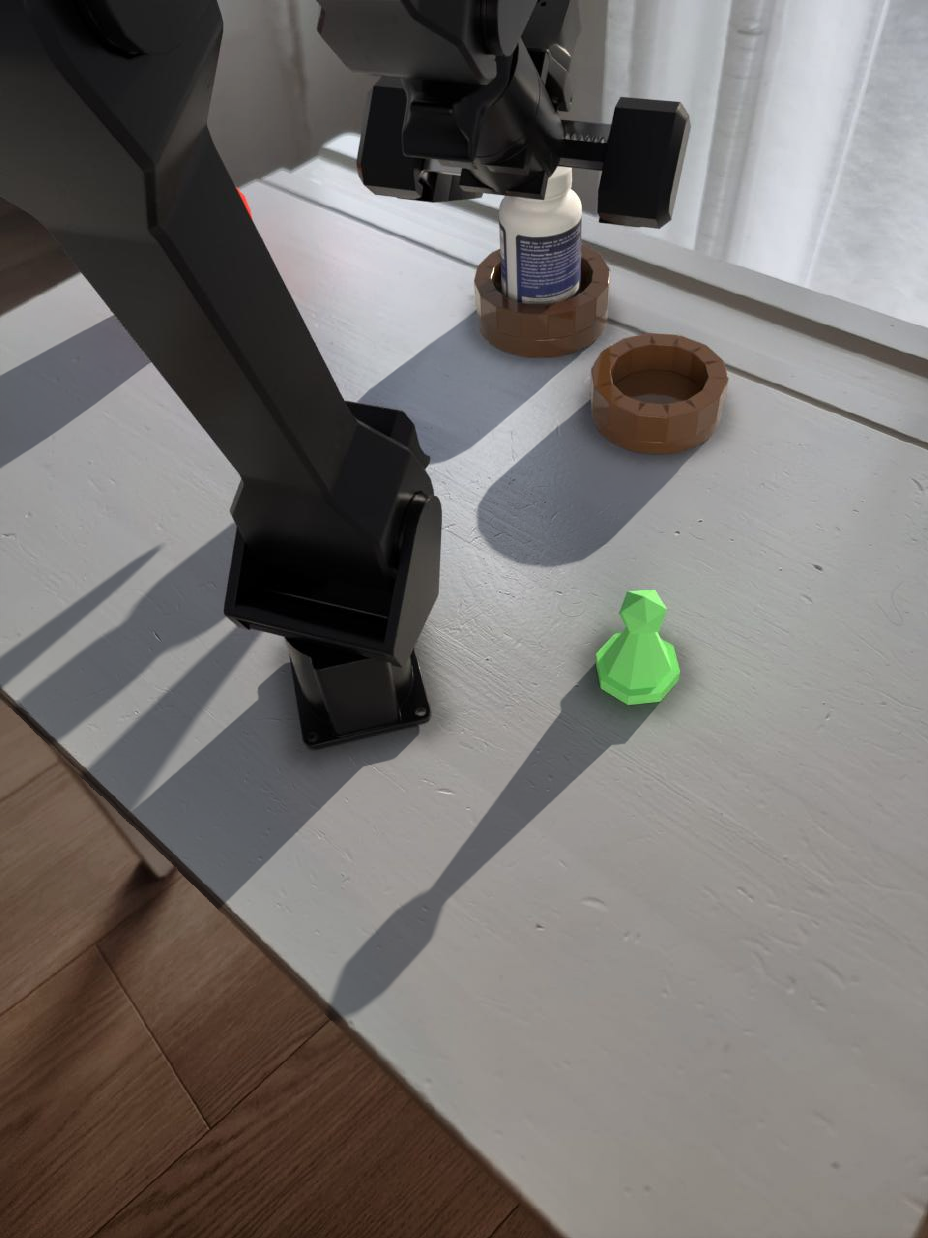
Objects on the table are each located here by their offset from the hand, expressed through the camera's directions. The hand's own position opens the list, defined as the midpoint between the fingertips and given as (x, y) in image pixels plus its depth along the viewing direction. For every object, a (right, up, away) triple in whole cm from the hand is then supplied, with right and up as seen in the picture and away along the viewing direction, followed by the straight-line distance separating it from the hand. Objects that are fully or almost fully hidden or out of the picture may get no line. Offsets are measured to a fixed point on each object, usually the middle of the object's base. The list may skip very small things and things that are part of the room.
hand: (547, 196), depth 65 cm
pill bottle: (0, -6, +4) cm, 7 cm away
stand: (0, -6, +6) cm, 8 cm away
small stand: (+7, -14, -2) cm, 16 cm away
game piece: (+3, -30, -14) cm, 34 cm away
